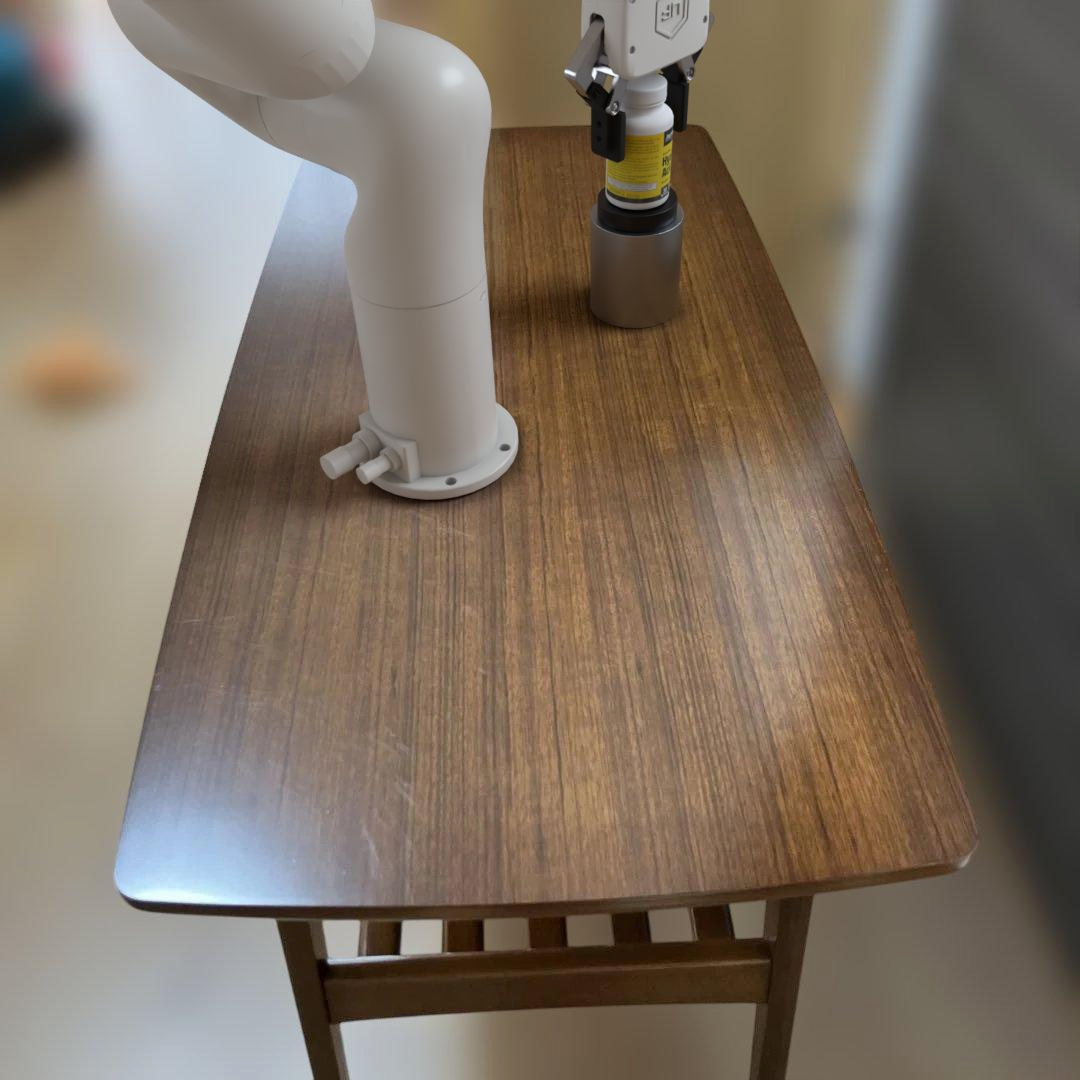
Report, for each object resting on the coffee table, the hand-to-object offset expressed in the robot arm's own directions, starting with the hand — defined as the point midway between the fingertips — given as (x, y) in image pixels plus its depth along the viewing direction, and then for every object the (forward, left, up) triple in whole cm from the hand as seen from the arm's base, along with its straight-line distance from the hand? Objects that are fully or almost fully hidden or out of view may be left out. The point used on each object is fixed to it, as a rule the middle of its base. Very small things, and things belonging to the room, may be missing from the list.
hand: (639, 140), depth 91 cm
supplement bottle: (0, 0, -5) cm, 5 cm away
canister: (0, 0, -16) cm, 16 cm away
